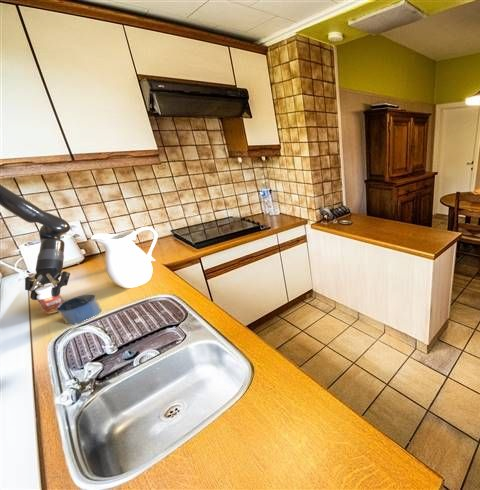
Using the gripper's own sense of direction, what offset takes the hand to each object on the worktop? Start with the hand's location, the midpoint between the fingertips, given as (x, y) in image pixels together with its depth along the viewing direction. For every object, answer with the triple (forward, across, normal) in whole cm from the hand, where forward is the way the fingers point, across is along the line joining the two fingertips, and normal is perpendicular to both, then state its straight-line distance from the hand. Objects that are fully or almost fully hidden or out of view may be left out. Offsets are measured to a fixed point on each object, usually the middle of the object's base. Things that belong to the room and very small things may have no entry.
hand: (45, 297), depth 112 cm
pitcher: (-7, +27, +18) cm, 34 cm away
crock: (+11, +14, 0) cm, 18 cm away
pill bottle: (+4, 0, +6) cm, 8 cm away
